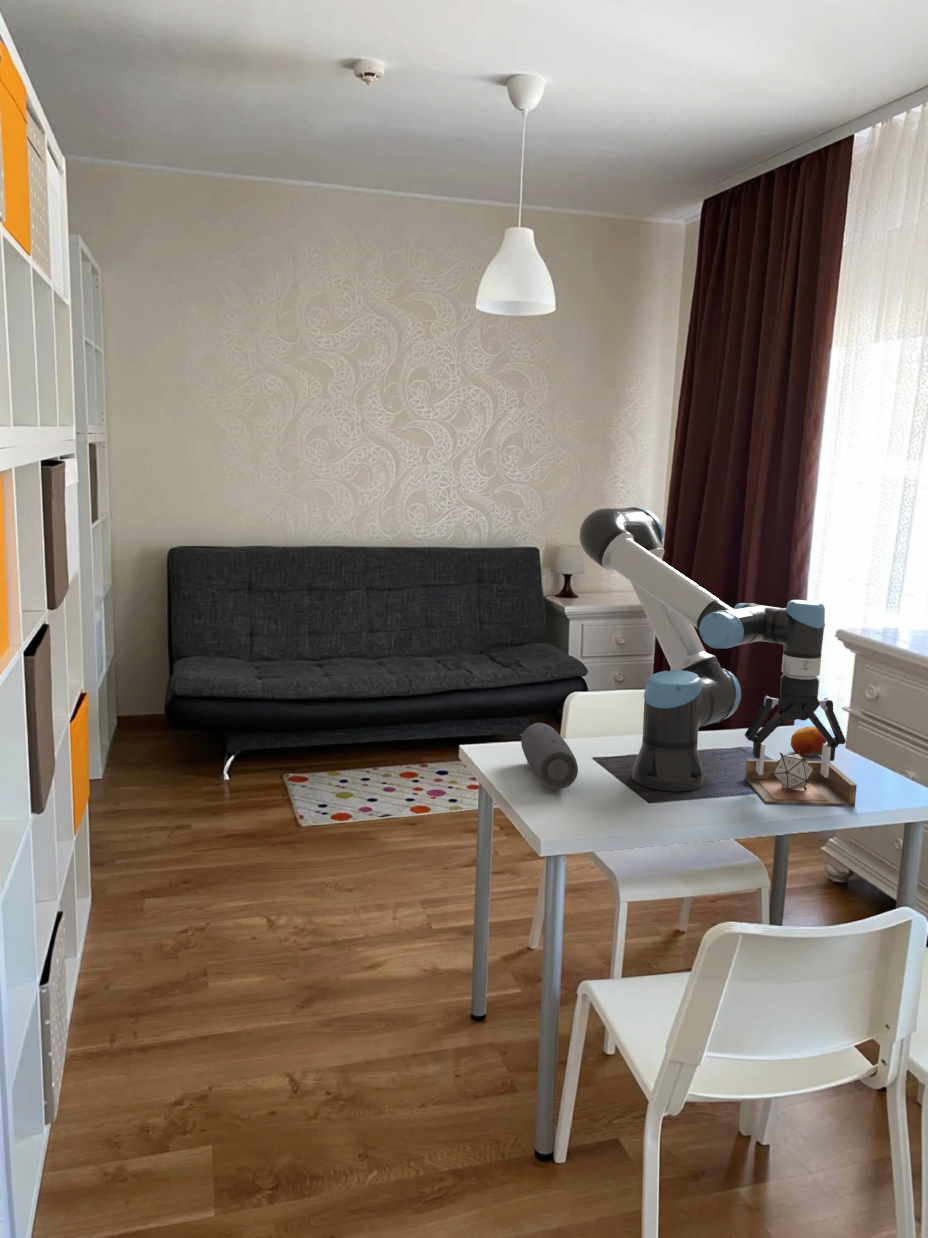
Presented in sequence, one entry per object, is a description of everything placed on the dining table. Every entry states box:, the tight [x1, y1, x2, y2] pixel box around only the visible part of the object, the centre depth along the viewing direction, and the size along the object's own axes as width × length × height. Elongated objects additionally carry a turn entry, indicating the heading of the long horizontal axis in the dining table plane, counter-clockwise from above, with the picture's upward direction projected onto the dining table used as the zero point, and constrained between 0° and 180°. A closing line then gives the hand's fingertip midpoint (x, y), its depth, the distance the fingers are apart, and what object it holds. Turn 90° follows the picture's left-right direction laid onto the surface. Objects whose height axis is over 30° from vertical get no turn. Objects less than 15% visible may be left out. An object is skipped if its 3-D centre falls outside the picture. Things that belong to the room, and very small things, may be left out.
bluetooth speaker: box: [520, 722, 579, 790], centre depth 210 cm, size 23×9×10 cm, turn 6°
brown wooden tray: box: [744, 758, 858, 807], centre depth 204 cm, size 18×16×4 cm
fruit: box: [790, 726, 827, 758], centre depth 232 cm, size 8×8×8 cm
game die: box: [769, 750, 818, 793], centre depth 204 cm, size 9×8×10 cm
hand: (791, 774), depth 204 cm, fingers open, 13 cm apart
